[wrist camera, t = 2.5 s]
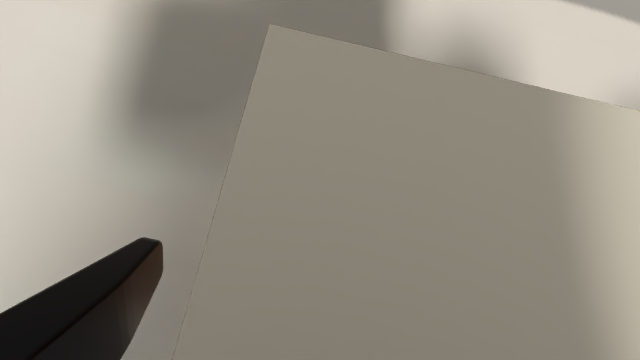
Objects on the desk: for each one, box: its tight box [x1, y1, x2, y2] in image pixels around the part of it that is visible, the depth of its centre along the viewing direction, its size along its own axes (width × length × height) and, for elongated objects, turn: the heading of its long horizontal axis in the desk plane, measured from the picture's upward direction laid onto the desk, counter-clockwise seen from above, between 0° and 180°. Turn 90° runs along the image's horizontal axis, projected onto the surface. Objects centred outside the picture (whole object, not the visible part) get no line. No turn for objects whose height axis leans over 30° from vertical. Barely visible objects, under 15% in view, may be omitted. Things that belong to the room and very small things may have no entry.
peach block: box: [172, 24, 640, 360], centre depth 10 cm, size 5×5×13 cm
